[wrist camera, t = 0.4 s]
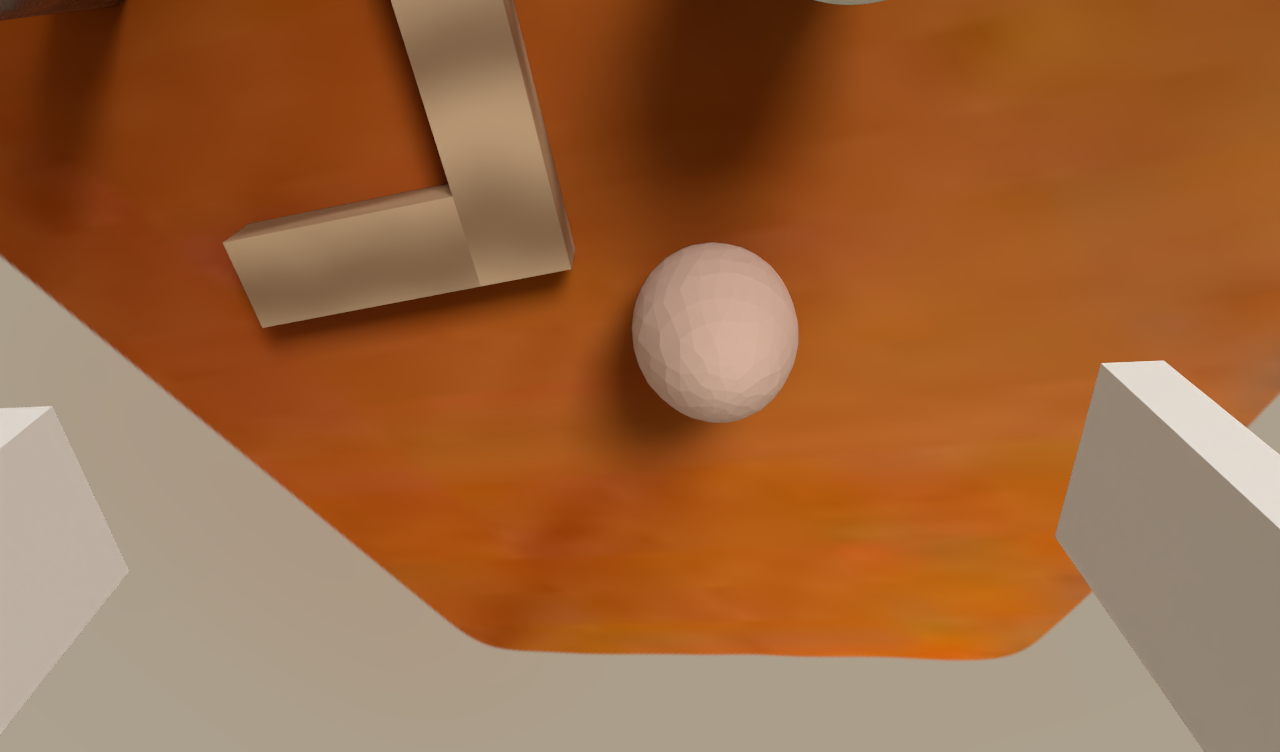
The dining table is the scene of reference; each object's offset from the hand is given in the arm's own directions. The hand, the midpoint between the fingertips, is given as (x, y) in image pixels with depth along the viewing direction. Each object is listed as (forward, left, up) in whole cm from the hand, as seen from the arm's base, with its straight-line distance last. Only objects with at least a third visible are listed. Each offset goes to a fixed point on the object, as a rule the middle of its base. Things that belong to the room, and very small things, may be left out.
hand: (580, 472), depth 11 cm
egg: (+9, +2, -26) cm, 28 cm away
